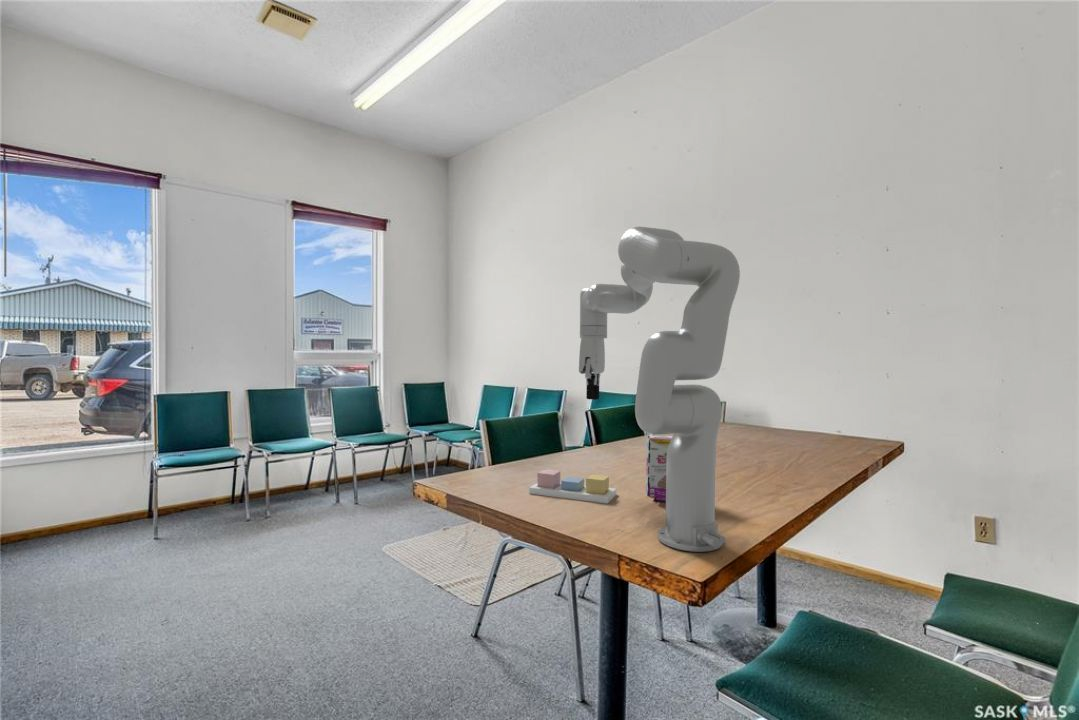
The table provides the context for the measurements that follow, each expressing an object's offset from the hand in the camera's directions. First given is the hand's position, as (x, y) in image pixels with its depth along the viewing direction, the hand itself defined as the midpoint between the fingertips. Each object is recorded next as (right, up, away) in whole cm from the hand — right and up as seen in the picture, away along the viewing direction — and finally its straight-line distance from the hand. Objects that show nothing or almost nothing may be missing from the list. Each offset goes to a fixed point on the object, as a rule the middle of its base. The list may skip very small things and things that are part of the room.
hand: (592, 399), depth 141 cm
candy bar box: (+18, -26, -10) cm, 33 cm away
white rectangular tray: (-6, -25, -10) cm, 28 cm away
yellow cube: (0, -24, -13) cm, 27 cm away
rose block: (-12, -24, -8) cm, 28 cm away
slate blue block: (-6, -25, -10) cm, 28 cm away
